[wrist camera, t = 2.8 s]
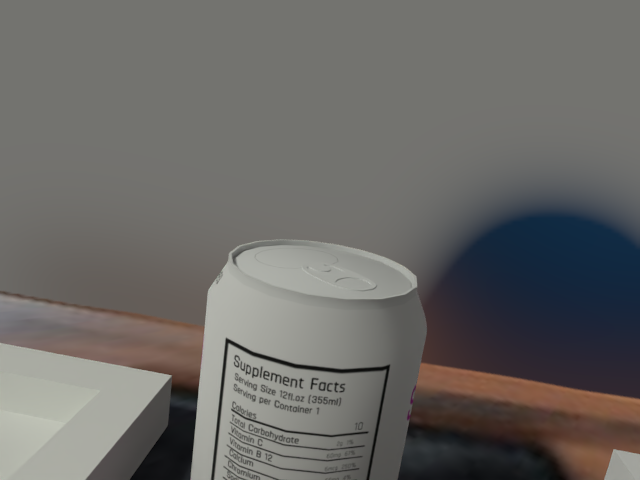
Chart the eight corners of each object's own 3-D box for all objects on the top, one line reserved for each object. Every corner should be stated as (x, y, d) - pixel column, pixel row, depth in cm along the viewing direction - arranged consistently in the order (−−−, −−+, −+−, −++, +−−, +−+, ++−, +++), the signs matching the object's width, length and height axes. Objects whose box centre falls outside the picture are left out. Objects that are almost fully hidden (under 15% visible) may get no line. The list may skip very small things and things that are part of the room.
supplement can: (145, 571, 23) (169, 242, 20) (291, 500, 29) (330, 232, 25) (250, 744, 18) (310, 324, 14) (407, 613, 23) (479, 288, 20)
